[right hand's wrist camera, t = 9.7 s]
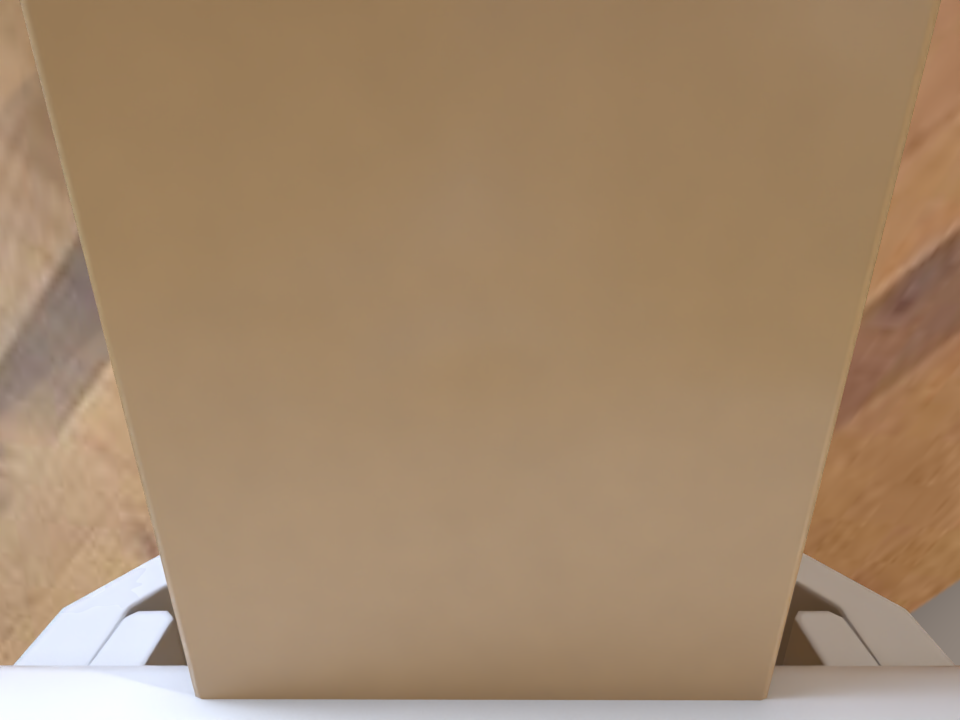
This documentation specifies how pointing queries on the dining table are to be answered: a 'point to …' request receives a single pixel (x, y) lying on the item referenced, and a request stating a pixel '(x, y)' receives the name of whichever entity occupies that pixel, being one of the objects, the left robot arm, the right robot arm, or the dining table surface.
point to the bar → (480, 322)
